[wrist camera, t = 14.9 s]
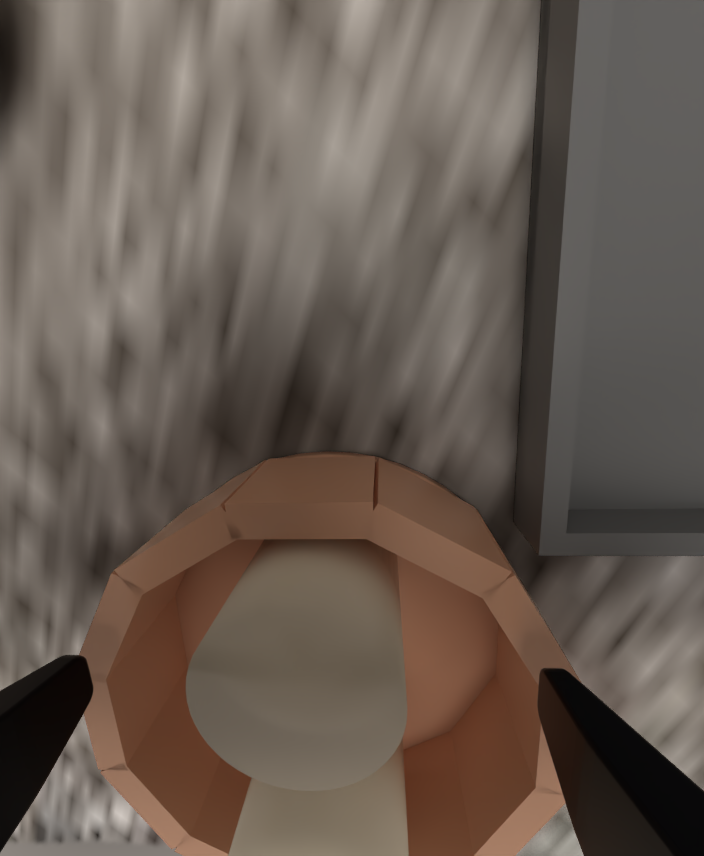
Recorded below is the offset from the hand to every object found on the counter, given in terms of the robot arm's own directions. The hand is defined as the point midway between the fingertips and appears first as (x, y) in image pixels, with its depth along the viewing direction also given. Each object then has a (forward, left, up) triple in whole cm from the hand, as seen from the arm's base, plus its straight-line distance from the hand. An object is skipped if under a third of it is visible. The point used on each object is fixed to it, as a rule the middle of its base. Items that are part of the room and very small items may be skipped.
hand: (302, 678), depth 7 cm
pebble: (0, 0, -4) cm, 4 cm away
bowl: (0, +3, -4) cm, 5 cm away
